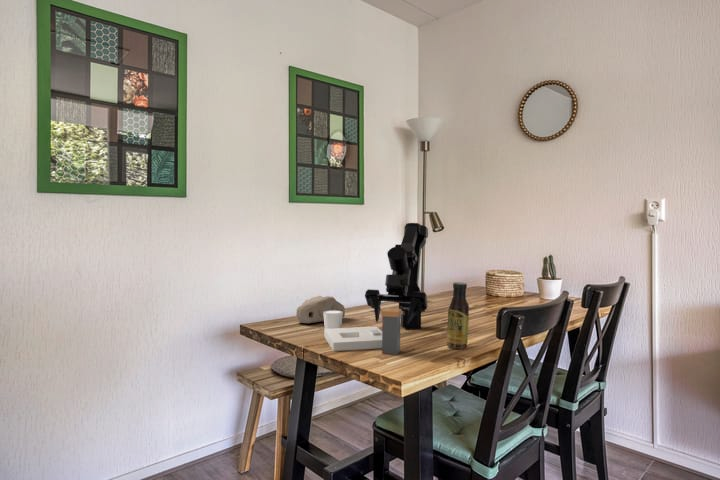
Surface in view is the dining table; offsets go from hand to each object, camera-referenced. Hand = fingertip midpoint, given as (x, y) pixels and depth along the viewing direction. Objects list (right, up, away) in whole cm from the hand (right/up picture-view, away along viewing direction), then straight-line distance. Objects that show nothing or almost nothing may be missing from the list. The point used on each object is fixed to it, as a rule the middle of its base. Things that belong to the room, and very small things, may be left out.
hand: (391, 322), depth 133 cm
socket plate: (-10, -8, +12) cm, 18 cm away
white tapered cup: (-19, -8, +25) cm, 32 cm away
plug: (0, -9, 0) cm, 9 cm away
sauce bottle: (+21, -9, +5) cm, 23 cm away
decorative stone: (-25, -8, +41) cm, 48 cm away
